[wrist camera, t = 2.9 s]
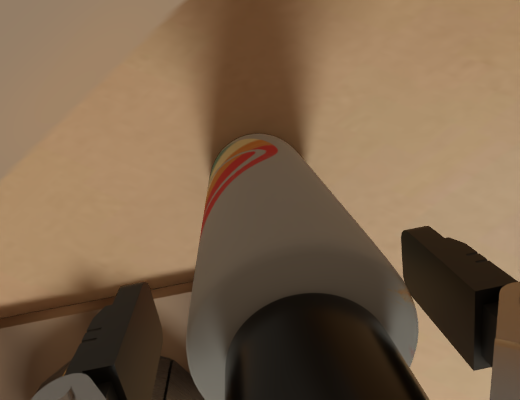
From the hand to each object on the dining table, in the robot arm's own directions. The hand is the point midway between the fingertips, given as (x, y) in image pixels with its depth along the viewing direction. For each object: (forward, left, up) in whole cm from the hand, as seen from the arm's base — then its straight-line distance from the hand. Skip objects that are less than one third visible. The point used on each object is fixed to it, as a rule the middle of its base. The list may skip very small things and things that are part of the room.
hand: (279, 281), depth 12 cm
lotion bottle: (0, 0, -12) cm, 12 cm away
